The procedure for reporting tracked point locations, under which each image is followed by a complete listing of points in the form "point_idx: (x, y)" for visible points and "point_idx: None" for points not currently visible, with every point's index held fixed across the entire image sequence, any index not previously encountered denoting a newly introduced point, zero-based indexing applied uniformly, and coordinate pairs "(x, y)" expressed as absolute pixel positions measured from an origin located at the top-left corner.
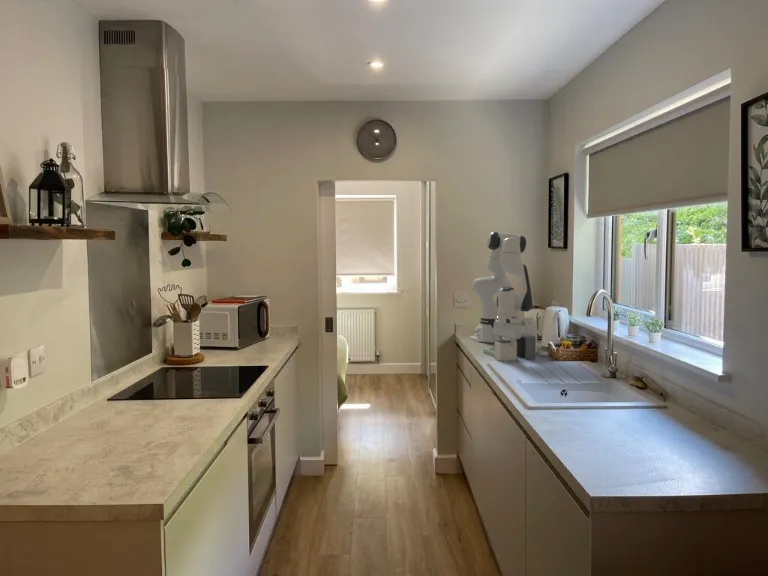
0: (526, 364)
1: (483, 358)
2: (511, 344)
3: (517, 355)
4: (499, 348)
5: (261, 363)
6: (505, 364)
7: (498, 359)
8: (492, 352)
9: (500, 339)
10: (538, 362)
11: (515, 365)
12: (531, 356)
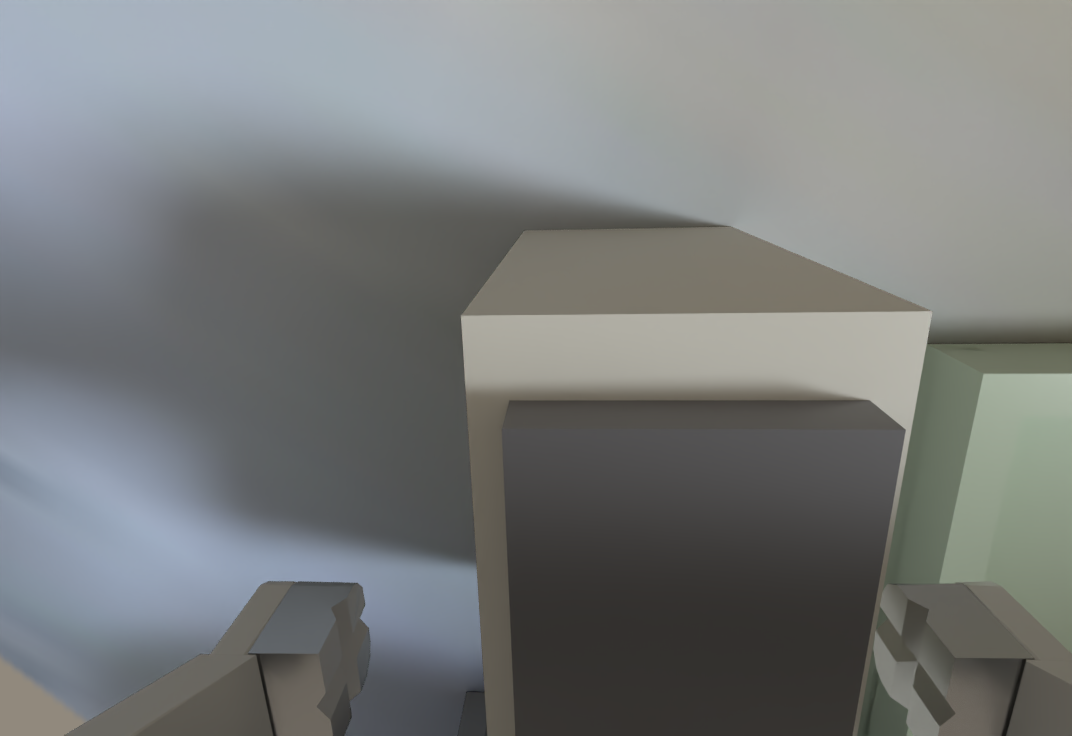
0: (128, 495)
1: (909, 5)
2: (232, 626)
3: None
4: (531, 274)
5: None
6: (203, 153)
7: (583, 231)
8: (1050, 366)
9: (1061, 716)
10: None
11: (88, 287)
12: None
